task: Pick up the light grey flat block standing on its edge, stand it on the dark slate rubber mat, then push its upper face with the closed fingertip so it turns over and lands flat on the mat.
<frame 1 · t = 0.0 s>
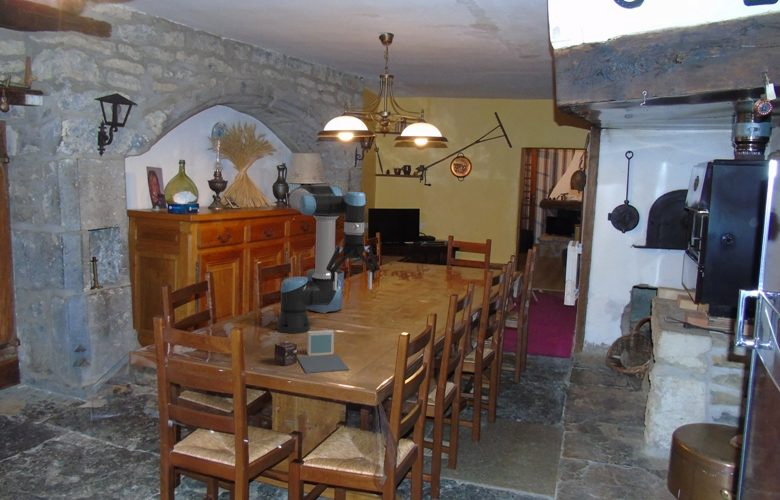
hand: (352, 289, 234), 28 cm above the table, fingers open, 13 cm apart
box: (285, 363, 232), on the table
mat: (322, 364, 233), on the table
light grey flat block: (320, 353, 246), on the table
planter: (324, 310, 319), on the table
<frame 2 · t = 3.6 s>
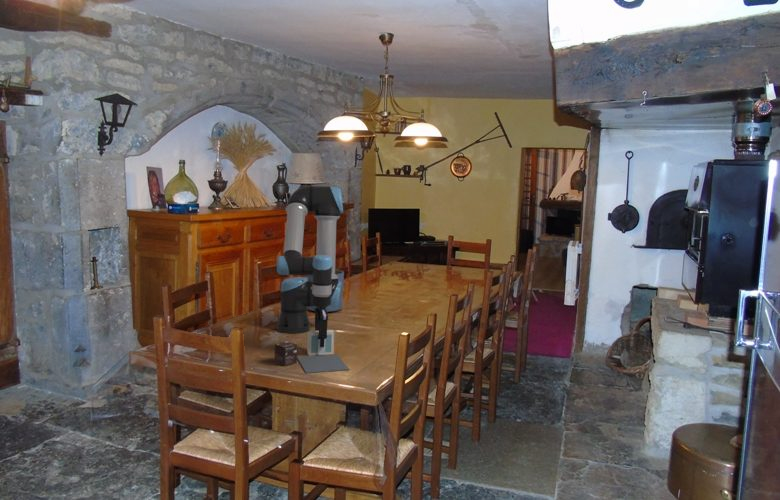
hand: (320, 352, 245), 0 cm above the table, fingers closed on light grey flat block, 3 cm apart
light grey flat block: (320, 353, 245), on the table, touching gripper
everything else where it was.
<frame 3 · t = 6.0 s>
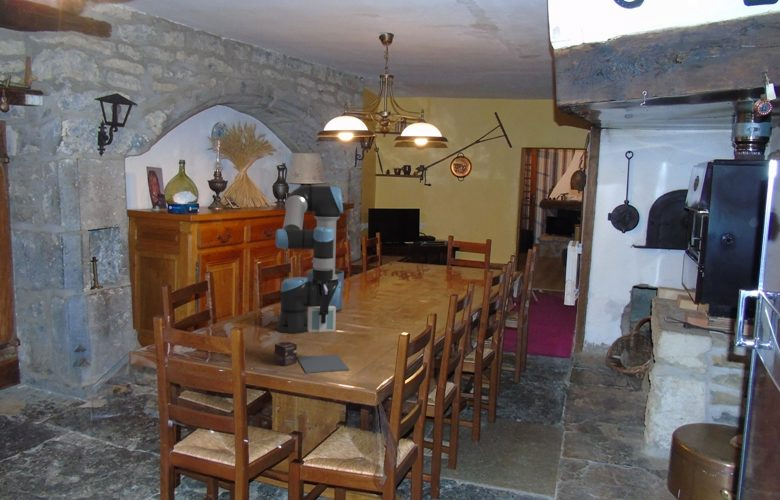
hand: (321, 329, 234), 12 cm above the table, fingers closed on light grey flat block, 3 cm apart
light grey flat block: (321, 330, 234), point 12 cm above the table, touching gripper
everything else where it was.
when the fingers open (1 cm above the table, at t = 8.5 s): light grey flat block stays where it is, resting on mat.
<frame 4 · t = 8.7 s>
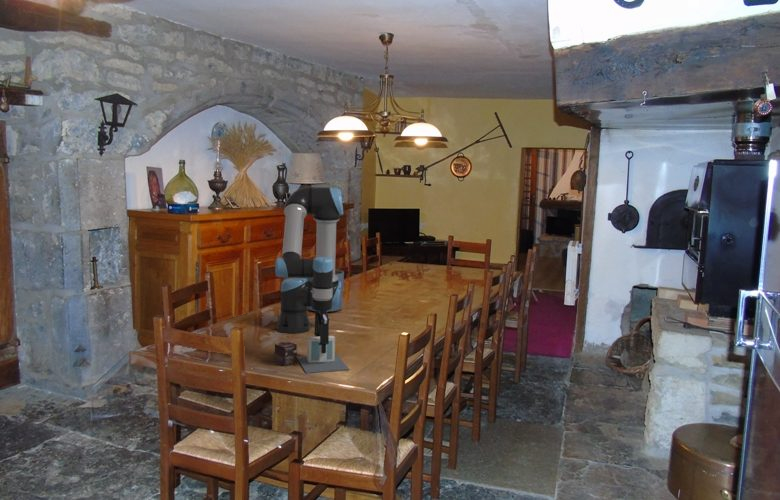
hand: (320, 357, 235), 1 cm above the table, fingers open, 6 cm apart
light grey flat block: (320, 360, 236), resting on mat
everything else where it was.
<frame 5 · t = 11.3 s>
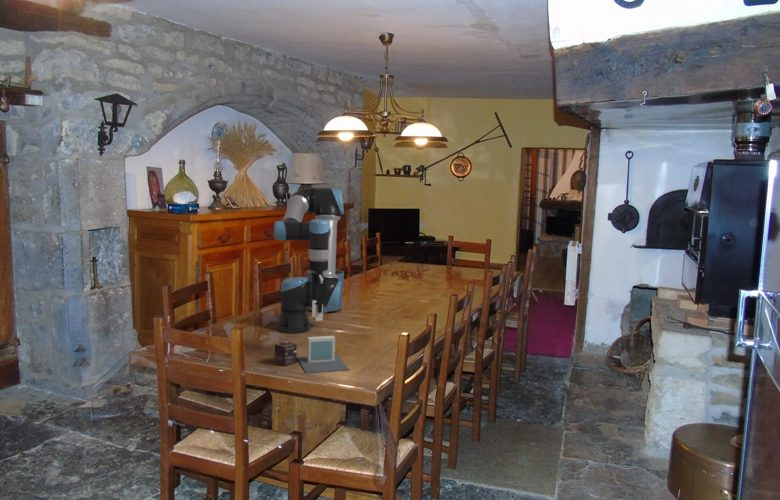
hand: (317, 318, 241), 15 cm above the table, fingers open, 6 cm apart
nothing on the table moved.
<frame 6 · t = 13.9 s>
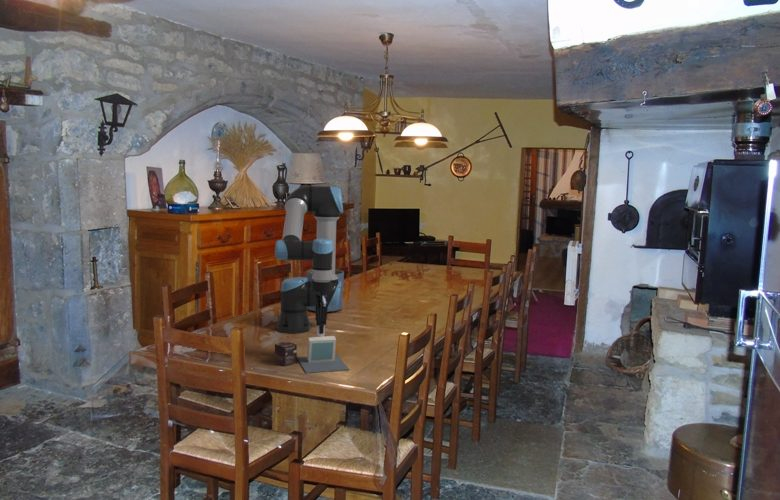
hand: (320, 341, 235), 8 cm above the table, fingers closed
light grey flat block: (320, 359, 236), point 1 cm above the table, tilted 11°, touching mat
everything else where it was.
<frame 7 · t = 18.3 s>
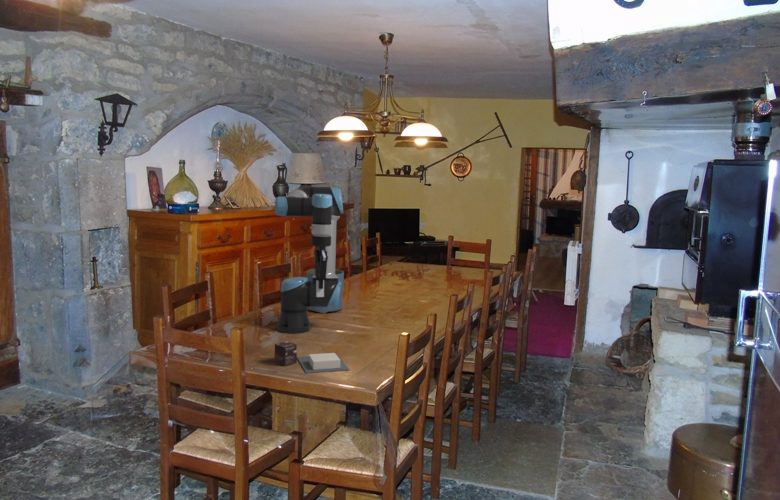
hand: (319, 296, 236), 24 cm above the table, fingers closed
light grey flat block: (321, 357, 234), point 2 cm above the table, tilted 90°, touching mat
everything else where it was.
at the end: light grey flat block tilted 90°; light grey flat block inside the target area on the mat (1.6 cm from its centre), point 2.0 cm above the mat's base; the gripper is holding nothing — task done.
